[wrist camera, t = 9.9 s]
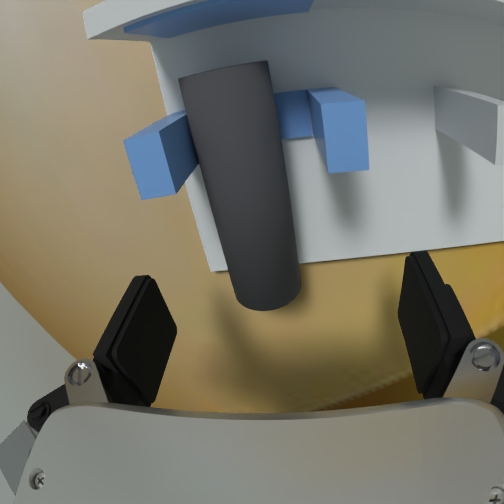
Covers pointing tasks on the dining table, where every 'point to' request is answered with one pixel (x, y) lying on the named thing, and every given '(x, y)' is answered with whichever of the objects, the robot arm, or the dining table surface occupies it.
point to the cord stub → (245, 180)
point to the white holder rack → (340, 114)
